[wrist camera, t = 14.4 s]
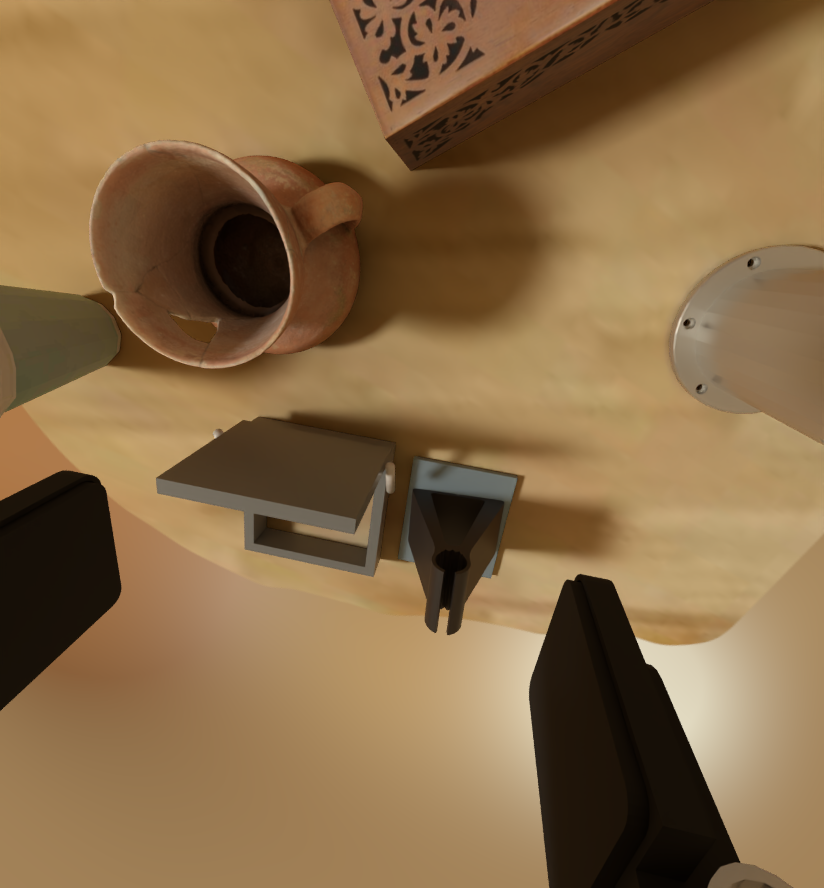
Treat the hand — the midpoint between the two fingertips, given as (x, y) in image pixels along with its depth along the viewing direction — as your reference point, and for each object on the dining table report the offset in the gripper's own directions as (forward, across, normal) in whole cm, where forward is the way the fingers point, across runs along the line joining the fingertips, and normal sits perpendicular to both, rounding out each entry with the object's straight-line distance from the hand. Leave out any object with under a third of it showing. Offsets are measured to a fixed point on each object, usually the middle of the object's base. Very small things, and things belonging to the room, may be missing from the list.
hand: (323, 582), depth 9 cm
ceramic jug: (+33, +14, -4) cm, 36 cm away
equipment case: (+32, +10, +18) cm, 38 cm away
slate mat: (+32, -4, +18) cm, 37 cm away
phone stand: (+32, -4, +18) cm, 37 cm away
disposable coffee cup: (+32, +34, +5) cm, 47 cm away
